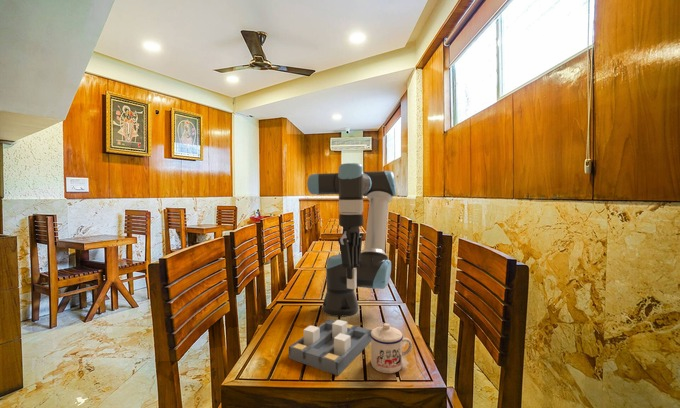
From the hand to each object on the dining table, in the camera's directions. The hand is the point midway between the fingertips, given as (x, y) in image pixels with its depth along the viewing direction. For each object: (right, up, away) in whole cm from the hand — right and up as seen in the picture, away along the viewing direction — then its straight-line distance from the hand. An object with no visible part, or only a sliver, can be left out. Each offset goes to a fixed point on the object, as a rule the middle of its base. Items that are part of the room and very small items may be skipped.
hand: (351, 288), depth 92 cm
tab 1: (-13, -18, -1) cm, 22 cm away
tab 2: (-4, -17, +4) cm, 18 cm away
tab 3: (-3, -18, -6) cm, 19 cm away
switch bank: (-6, -19, 0) cm, 20 cm away
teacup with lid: (+11, -19, -9) cm, 24 cm away
